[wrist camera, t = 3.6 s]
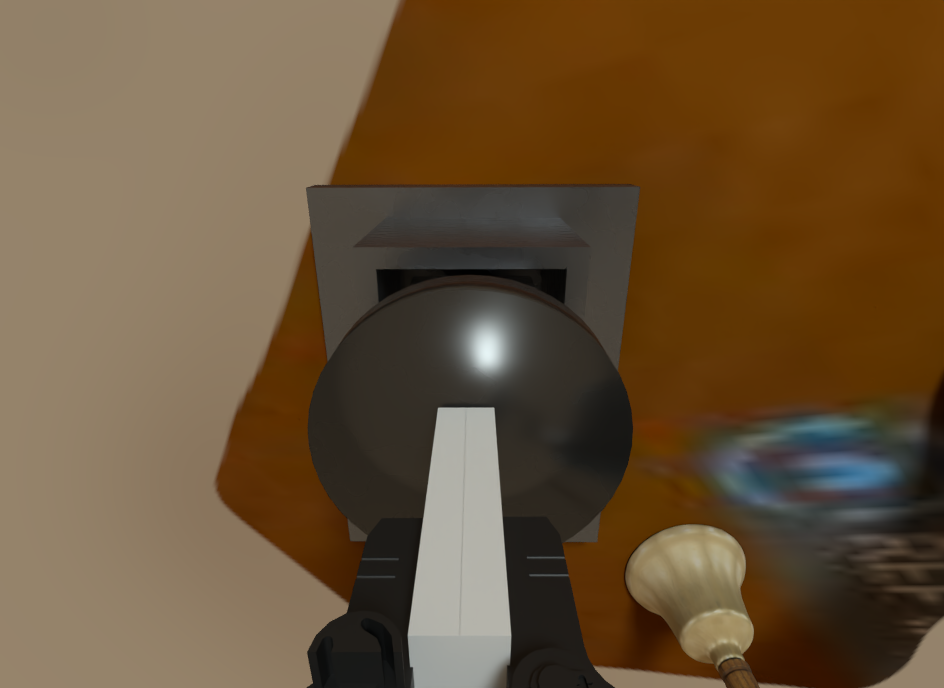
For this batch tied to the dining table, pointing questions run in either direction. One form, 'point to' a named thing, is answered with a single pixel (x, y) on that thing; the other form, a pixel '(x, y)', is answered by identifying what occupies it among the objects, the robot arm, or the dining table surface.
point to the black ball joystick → (471, 401)
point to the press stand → (475, 250)
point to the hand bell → (697, 595)
